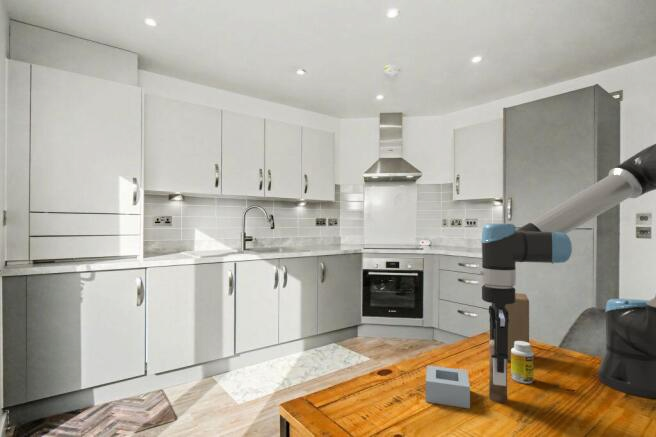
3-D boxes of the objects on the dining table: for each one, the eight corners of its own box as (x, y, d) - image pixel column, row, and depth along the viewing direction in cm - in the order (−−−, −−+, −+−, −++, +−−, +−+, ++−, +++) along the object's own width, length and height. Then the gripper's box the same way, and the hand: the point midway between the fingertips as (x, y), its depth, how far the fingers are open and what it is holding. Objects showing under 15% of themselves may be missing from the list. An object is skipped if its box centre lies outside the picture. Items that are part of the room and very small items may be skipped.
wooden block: (526, 354, 118) (526, 293, 118) (529, 364, 109) (529, 299, 109) (493, 349, 122) (493, 291, 123) (493, 359, 113) (493, 296, 113)
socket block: (466, 389, 93) (467, 370, 93) (469, 408, 83) (469, 387, 83) (427, 383, 96) (427, 365, 96) (425, 401, 86) (425, 380, 86)
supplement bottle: (527, 386, 95) (527, 347, 95) (506, 378, 99) (506, 341, 99) (537, 381, 98) (537, 344, 98) (517, 374, 102) (517, 338, 102)
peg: (505, 396, 89) (506, 340, 89) (508, 404, 85) (508, 345, 85) (488, 394, 90) (488, 338, 90) (490, 401, 86) (490, 344, 86)
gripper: (478, 279, 97) (478, 365, 97) (485, 290, 81) (485, 393, 81) (508, 281, 95) (508, 369, 95) (522, 293, 79) (522, 399, 78)
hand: (498, 380), depth 88 cm, fingers closed on peg, 4 cm apart
